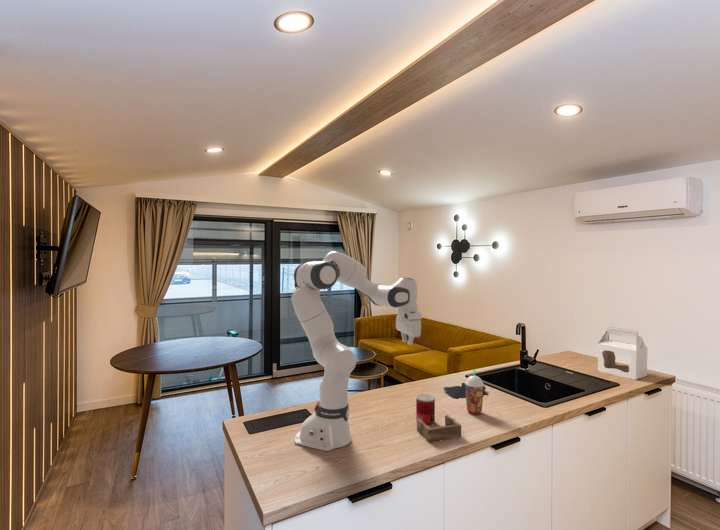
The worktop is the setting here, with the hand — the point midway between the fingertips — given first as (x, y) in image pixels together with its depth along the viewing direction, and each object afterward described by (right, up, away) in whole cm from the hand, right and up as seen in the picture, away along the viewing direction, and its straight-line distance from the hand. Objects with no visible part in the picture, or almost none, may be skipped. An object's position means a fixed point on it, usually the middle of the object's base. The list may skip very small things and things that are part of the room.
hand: (407, 343), depth 175 cm
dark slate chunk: (+35, -33, +30) cm, 57 cm away
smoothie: (+32, -33, +4) cm, 46 cm away
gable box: (+140, -32, +62) cm, 157 cm away
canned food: (+7, -34, -7) cm, 35 cm away
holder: (+10, -34, -17) cm, 39 cm away
